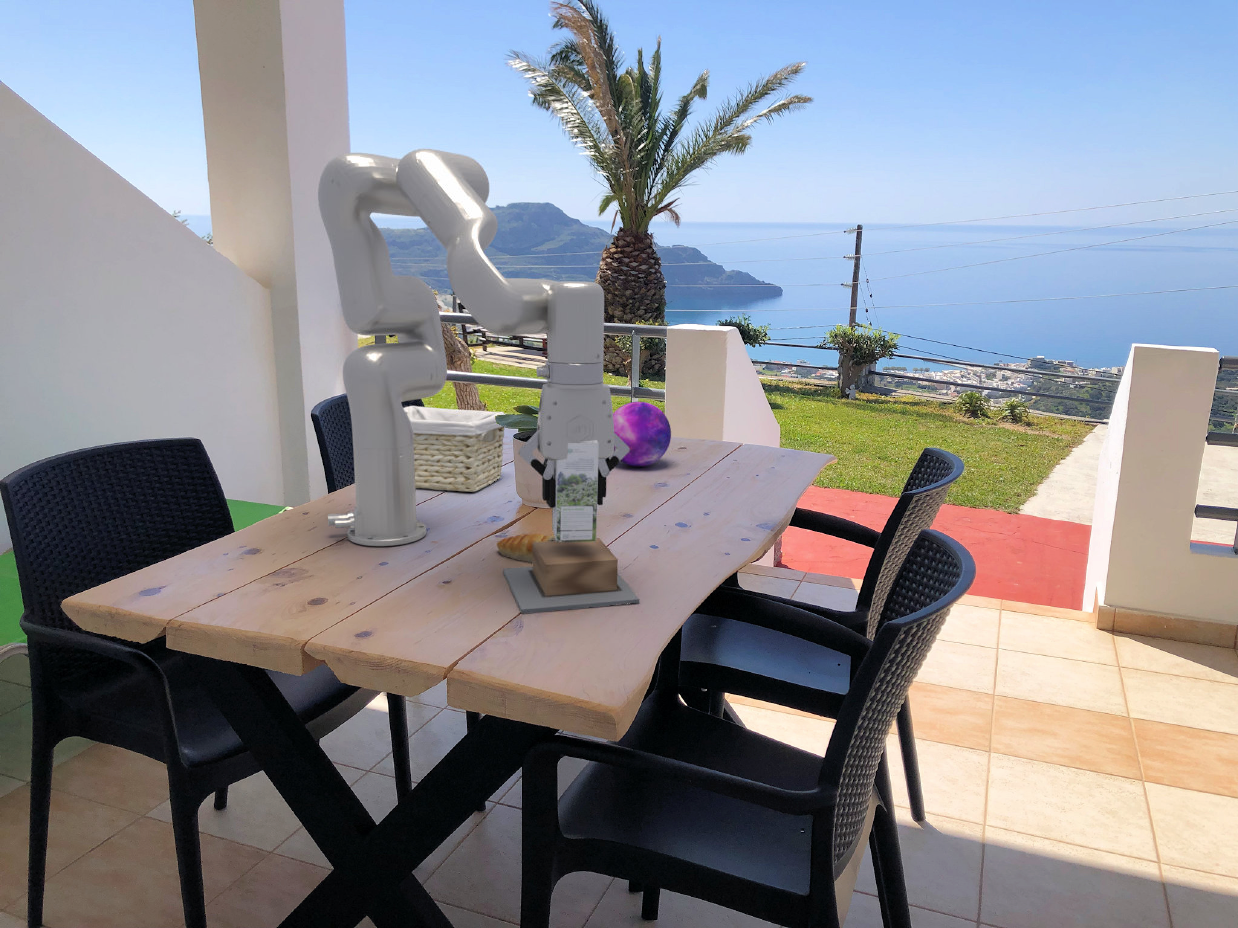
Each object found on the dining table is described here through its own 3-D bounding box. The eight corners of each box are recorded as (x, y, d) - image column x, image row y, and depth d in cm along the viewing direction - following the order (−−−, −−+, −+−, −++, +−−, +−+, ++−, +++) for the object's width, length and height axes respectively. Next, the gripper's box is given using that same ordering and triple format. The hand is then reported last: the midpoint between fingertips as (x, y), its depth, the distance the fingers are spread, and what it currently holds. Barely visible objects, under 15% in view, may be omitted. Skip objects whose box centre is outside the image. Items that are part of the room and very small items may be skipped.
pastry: (489, 558, 131) (489, 535, 130) (508, 546, 138) (507, 523, 137) (545, 566, 128) (545, 542, 128) (561, 553, 135) (562, 530, 134)
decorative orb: (671, 474, 189) (673, 407, 186) (604, 472, 190) (605, 406, 186) (668, 459, 204) (671, 398, 201) (606, 458, 204) (607, 396, 201)
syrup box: (591, 530, 122) (593, 431, 119) (597, 542, 117) (598, 439, 113) (551, 531, 121) (552, 431, 118) (555, 544, 116) (556, 440, 112)
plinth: (542, 601, 114) (542, 566, 113) (527, 573, 124) (527, 541, 123) (622, 595, 117) (623, 560, 116) (601, 568, 127) (601, 536, 126)
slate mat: (521, 613, 110) (521, 609, 109) (503, 572, 125) (503, 568, 124) (639, 603, 114) (639, 598, 114) (607, 564, 129) (608, 560, 129)
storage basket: (369, 486, 173) (366, 415, 170) (410, 469, 189) (408, 404, 185) (476, 496, 167) (475, 423, 164) (509, 478, 182) (509, 411, 179)
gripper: (516, 379, 108) (517, 514, 112) (644, 377, 113) (641, 507, 117) (507, 372, 115) (508, 500, 119) (628, 371, 120) (626, 494, 124)
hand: (574, 502), depth 118 cm, fingers closed on syrup box, 6 cm apart
